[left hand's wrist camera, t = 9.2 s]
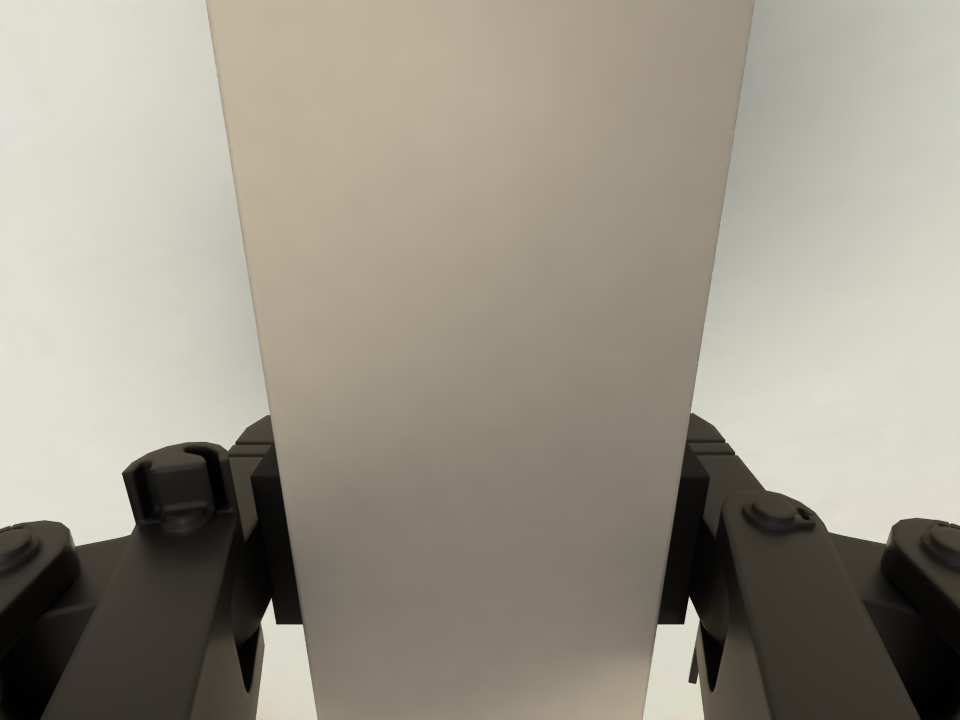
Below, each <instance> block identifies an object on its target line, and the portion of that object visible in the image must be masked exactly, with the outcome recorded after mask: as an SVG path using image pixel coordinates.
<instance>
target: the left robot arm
mask: <svg viewBox="0 0 960 720" xmlns="http://www.w3.org/2000/svg"><path fill="white" fill-rule="evenodd" d="M235 443H236V444H235V445H233V446H232V447H231V448H230V450H229V451H227V450H226V449H224V448H223V447H222V446H220V445H217V444H213V443H208V442H187V443H182V444H177V445H172V446H167V447H164V448H161V449H159V450H156V451H153V452H150V453H148V454H146V455H144V456H143V457H141V458H139V459H137V460H136V461H134V462H132V463H131V464H130V465H129V466H128V467H127V468H126V469H125V470H124V471H123V473H122V475H123V479H124V483H125V486H126V490H127V493H128V497H129V501H130V504H131V508H132V511H133V515H134V519H135V522H136V525H135V527H134V530H133V532H132V534H131V535H129V536H125V537H121V538H116V539H111V540H106V541H101V542H96V543H91V544H86V545H81V546H76V547H75V545H74V542H73V539H72V536H71V533H70V530H69V529H68V528H67V527H66V526H65V525H63V524H62V523H60V522H53V521H46V520H44V521H35V522H27V523H20V524H15V525H13V526H11V527H10V526H8V527H5V528H2V529H0V720H256V713H257V704H258V696H259V688H260V680H261V672H262V663H263V655H264V647H265V645H264V638H263V632H262V627H261V620H262V618H263V616H264V613H265V611H266V609H267V607H268V605H269V602H270V600H271V598H272V602H273V608H274V614H275V619H276V624H303V621H302V615H301V609H300V602H299V596H298V589H297V583H296V576H295V570H294V564H293V557H292V551H291V544H290V538H289V532H288V525H287V519H286V512H285V506H284V499H283V493H282V487H281V480H280V474H279V467H278V461H277V454H276V448H275V442H274V435H273V429H272V422H271V416H270V415H267V416H265V417H264V418H262V419H260V420H259V421H257V422H256V423H254V424H252V425H251V426H249V427H247V428H246V430H245V431H244V432H243V433H242V435H241V436H240V437H239V438H238V440H237V441H236V442H235ZM689 596H690V598H691V601H692V603H693V605H694V607H695V609H696V612H697V614H698V616H699V618H700V621H699V627H698V632H697V637H696V642H695V647H694V653H693V658H692V663H691V668H690V675H689V683H694V684H696V682H697V677H698V672H699V678H700V687H701V695H702V703H703V711H704V719H705V720H960V526H959V525H955V524H952V523H951V524H949V523H948V522H944V521H940V520H931V519H922V518H912V519H905V520H900V521H899V522H897V523H896V524H895V525H894V526H892V528H891V531H890V534H889V537H888V540H887V543H886V544H882V543H877V542H872V541H867V540H862V539H857V538H852V537H847V536H842V535H838V534H834V533H830V532H828V530H827V528H826V526H825V524H824V523H823V522H822V520H821V519H820V518H819V517H818V515H817V514H816V513H815V512H814V511H813V510H811V509H810V508H808V507H807V506H805V505H804V504H802V503H801V502H799V501H797V500H795V499H792V498H790V497H787V496H785V495H783V494H780V493H775V492H771V491H766V490H765V489H764V488H763V486H762V485H761V484H760V483H759V481H758V480H757V479H756V478H755V476H754V475H753V474H752V473H751V471H750V470H749V469H748V468H747V466H746V465H745V464H744V463H743V462H742V460H741V459H740V458H739V457H738V455H735V452H734V450H733V449H732V448H731V447H730V445H729V444H728V443H725V439H724V438H723V437H722V435H721V434H720V433H719V432H718V430H717V429H716V428H715V427H714V426H713V425H712V424H710V423H708V422H707V421H705V420H703V419H702V418H700V417H699V416H697V415H695V414H694V413H690V418H689V424H688V431H687V437H686V444H685V450H684V456H683V463H682V469H681V476H680V482H679V489H678V495H677V501H676V508H675V514H674V521H673V527H672V533H671V540H670V546H669V553H668V559H667V565H666V572H665V578H664V585H663V591H662V597H661V604H660V610H659V617H658V623H657V624H684V622H685V616H686V610H687V605H688V599H689Z"/></svg>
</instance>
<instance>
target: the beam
mask: <svg viewBox="0 0 960 720" xmlns="http://www.w3.org/2000/svg"><path fill="white" fill-rule="evenodd" d="M754 2H755V0H206V4H207V11H208V17H209V24H210V30H211V37H212V43H213V49H214V56H215V62H216V69H217V75H218V82H219V88H220V94H221V101H222V107H223V114H224V120H225V127H226V133H227V139H228V146H229V152H230V159H231V165H232V172H233V178H234V184H235V191H236V197H237V204H238V210H239V217H240V223H241V229H242V236H243V242H244V249H245V255H246V262H247V268H248V274H249V281H250V287H251V294H252V300H253V307H254V313H255V319H256V326H257V332H258V339H259V345H260V352H261V358H262V364H263V371H264V377H265V384H266V390H267V397H268V403H269V409H270V416H271V422H272V429H273V435H274V442H275V448H276V454H277V461H278V467H279V474H280V480H281V487H282V493H283V499H284V506H285V512H286V519H287V525H288V532H289V538H290V544H291V551H292V557H293V564H294V570H295V576H296V583H297V589H298V596H299V602H300V609H301V615H302V621H303V628H304V634H305V641H306V647H307V654H308V660H309V666H310V673H311V679H312V686H313V692H314V699H315V705H316V711H317V718H318V720H642V719H643V713H644V706H645V700H646V693H647V687H648V681H649V674H650V668H651V661H652V655H653V649H654V642H655V636H656V629H657V623H658V617H659V610H660V604H661V597H662V591H663V585H664V578H665V572H666V565H667V559H668V553H669V546H670V540H671V533H672V527H673V521H674V514H675V508H676V501H677V495H678V489H679V482H680V476H681V469H682V463H683V456H684V450H685V444H686V437H687V431H688V424H689V418H690V412H691V405H692V399H693V392H694V386H695V380H696V373H697V367H698V360H699V354H700V348H701V341H702V335H703V328H704V322H705V316H706V309H707V303H708V296H709V290H710V284H711V277H712V271H713V264H714V258H715V252H716V245H717V239H718V232H719V226H720V220H721V213H722V207H723V200H724V194H725V188H726V181H727V175H728V168H729V162H730V156H731V149H732V143H733V136H734V130H735V124H736V117H737V111H738V104H739V98H740V92H741V85H742V79H743V72H744V66H745V60H746V53H747V47H748V40H749V34H750V28H751V21H752V15H753V8H754Z"/></svg>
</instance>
